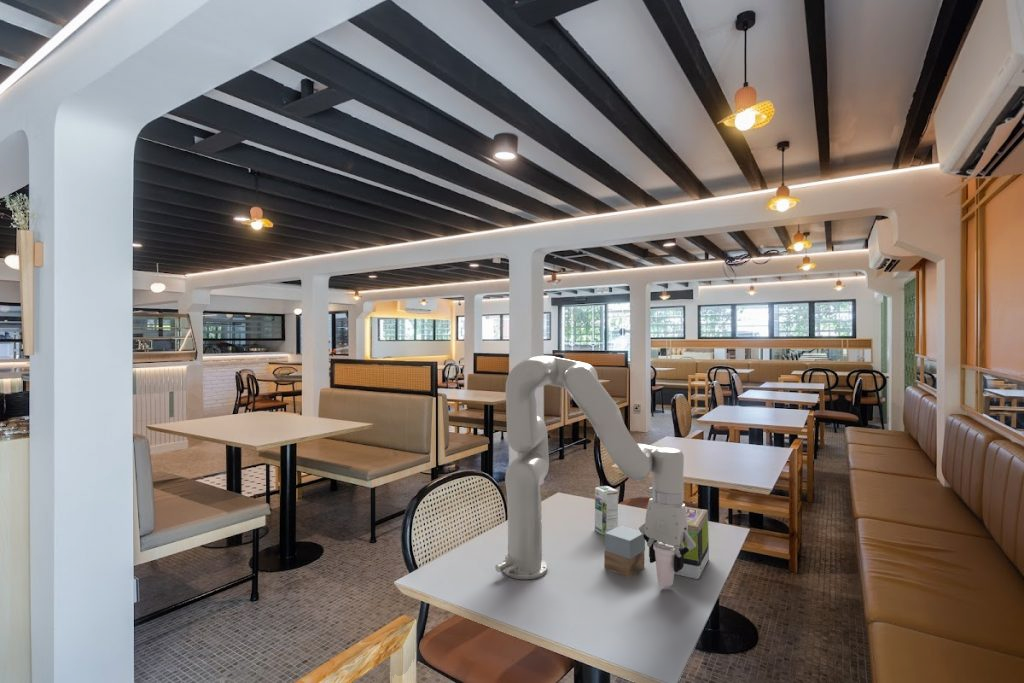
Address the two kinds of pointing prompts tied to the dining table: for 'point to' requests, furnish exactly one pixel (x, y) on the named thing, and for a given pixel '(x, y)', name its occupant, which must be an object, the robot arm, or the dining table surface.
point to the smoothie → (664, 563)
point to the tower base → (623, 563)
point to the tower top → (624, 542)
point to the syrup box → (606, 509)
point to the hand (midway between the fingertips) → (665, 565)
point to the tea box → (699, 534)
